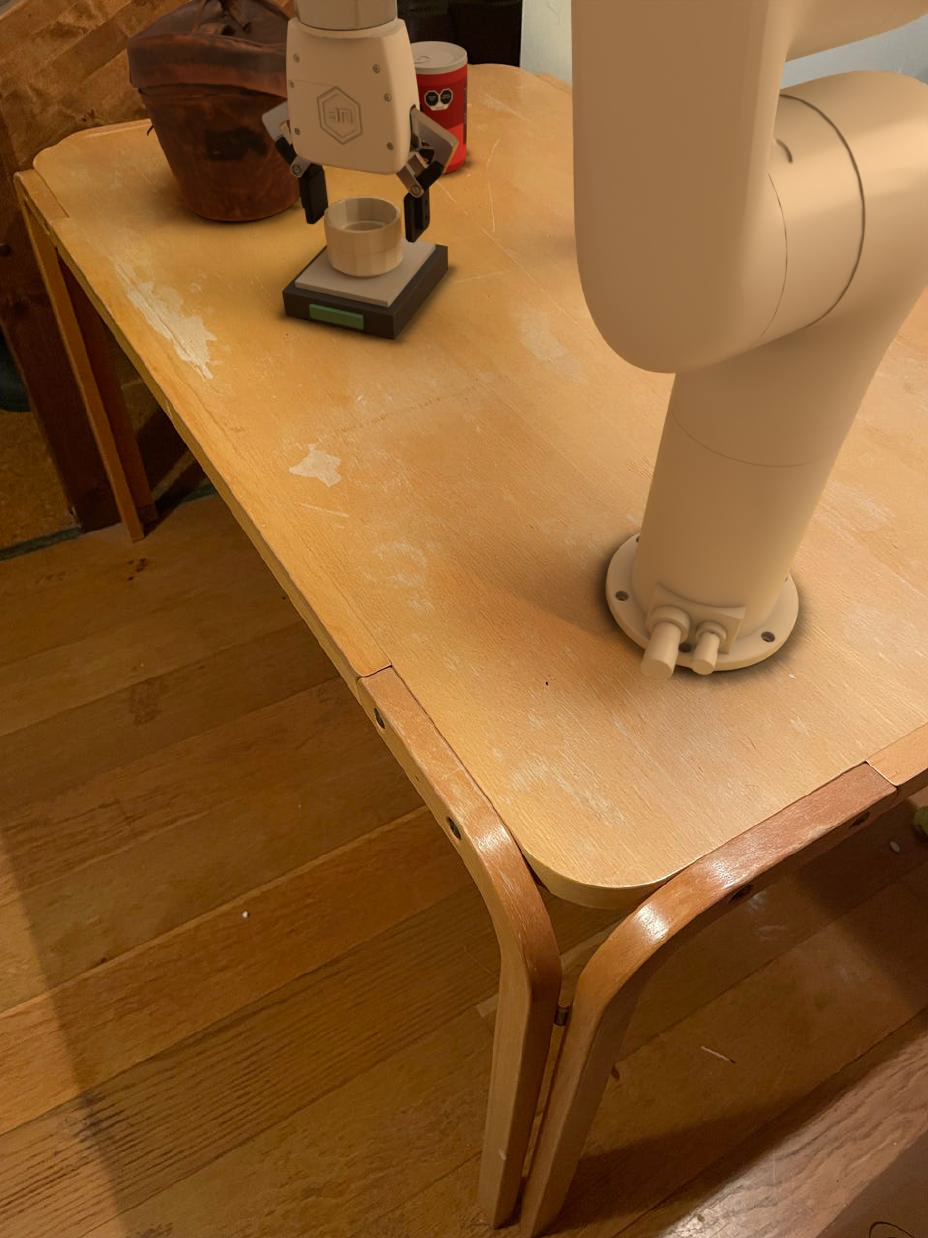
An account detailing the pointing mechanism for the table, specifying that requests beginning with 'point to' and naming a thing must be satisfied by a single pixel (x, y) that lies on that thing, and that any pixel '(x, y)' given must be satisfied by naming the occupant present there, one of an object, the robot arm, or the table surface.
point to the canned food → (443, 93)
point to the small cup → (364, 235)
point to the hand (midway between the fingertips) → (366, 226)
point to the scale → (367, 291)
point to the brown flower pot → (218, 103)
